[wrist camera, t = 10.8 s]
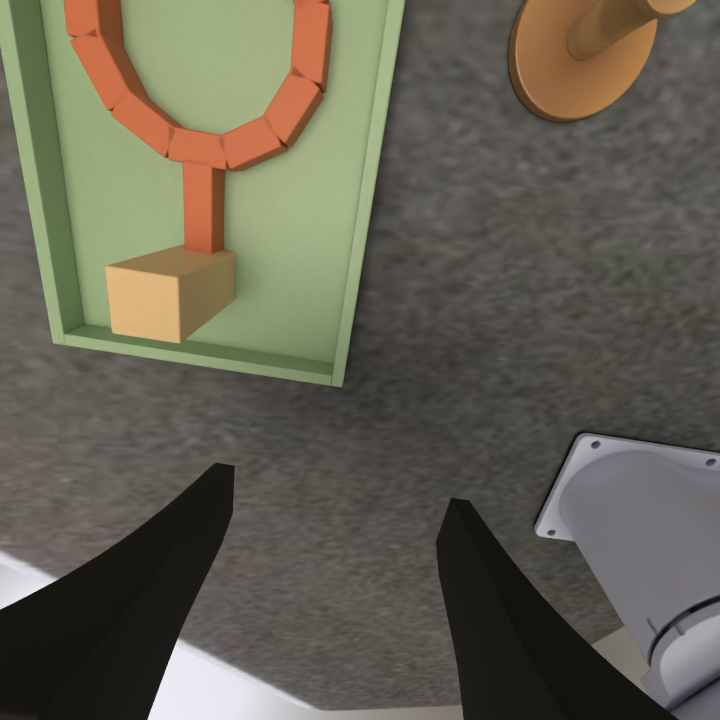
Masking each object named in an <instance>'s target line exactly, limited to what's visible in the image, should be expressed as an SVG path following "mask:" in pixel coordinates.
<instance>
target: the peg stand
mask: <svg viewBox="0 0 720 720" xmlns="http://www.w3.org/2000/svg"><path fill="white" fill-rule="evenodd" d="M695 1H696V0H525V1H524V3H523V5H522V7H521V9H520V11H519V13H518V16H517V18H516V20H515V23H514V27H513V30H512V34H511V39H510V45H509V70H510V76H511V80H512V83H513V86H514V89H515V91H516V93H517V95H518V97H519V98H520V100H521V101H522V103H523V104H524V105H525V106H526V107H527V108H528V109H529V110H530V111H531V112H533V113H534V114H536V115H537V116H539V117H541V118H543V119H546V120H550V121H555V122H569V121H574V120H578V119H581V118H584V117H587V116H590V115H593V114H595V113H597V112H599V111H601V110H603V109H605V108H606V107H608V106H609V105H611V104H612V103H613V102H615V101H616V100H617V99H618V98H619V97H620V96H621V95H622V94H623V93H624V92H625V91H626V90H627V89H628V88H629V87H630V86H631V84H632V83H633V82H634V81H635V79H636V78H637V76H638V75H639V73H640V72H641V70H642V68H643V66H644V64H645V63H646V60H647V58H648V56H649V54H650V51H651V48H652V45H653V42H654V39H655V34H656V30H657V22H658V19H667V18H670V17H673V16H675V15H677V14H678V13H680V12H682V11H683V10H685V9H687V8H688V7H690V6H691V5H692V4H693V3H694V2H695Z"/></svg>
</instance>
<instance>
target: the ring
mask: <svg viewBox="0 0 720 720" xmlns="http://www.w3.org/2000/svg"><path fill="white" fill-rule="evenodd" d="M63 2H64V10H65V18H66V27H67V33H68V35H69V36H71V37H73V38H74V39H72V40H71V41H70V43H71V45H72V47H73V48H74V50H75V52H76V54H77V56H78V58H79V59H80V61H81V63H82V65H83V67H84V69H85V70H86V72H87V74H88V76H89V78H90V80H91V82H92V83H93V85H94V87H95V89H96V91H97V93H98V94H99V96H100V98H101V100H102V102H103V104H104V105H105V107H106V109H107V110H108V111H111V112H112V114H111V116H112V117H114V118H115V119H116V120H117V121H119V122H120V123H121V124H122V125H124V126H125V127H126V128H127V129H129V130H130V131H131V132H132V133H134V134H135V135H136V136H137V137H139V138H140V139H141V140H142V141H144V142H145V143H146V144H147V145H149V146H150V147H151V148H153V149H154V150H155V151H156V152H158V153H159V154H160V155H161V156H163V157H164V158H169V160H171V161H177V162H182V163H183V197H184V239H185V244H183V245H179V246H175V247H172V248H168V249H164V250H161V251H157V252H153V253H150V254H146V255H142V256H139V257H135V258H131V259H128V260H124V261H120V262H117V263H113V264H110V265H106V266H105V272H106V281H107V290H108V299H109V309H110V318H111V327H112V333H115V334H121V335H127V336H134V337H140V338H147V339H153V340H159V341H166V342H172V343H182V342H183V341H184V340H185V339H187V338H188V337H189V336H190V335H192V334H193V333H194V332H195V331H197V330H198V329H199V328H200V327H202V326H203V325H204V324H205V323H207V322H208V321H209V320H210V319H212V318H213V317H214V316H215V315H217V314H218V313H219V312H220V311H222V310H223V309H224V308H225V307H227V306H228V305H229V304H230V303H232V302H233V301H234V300H235V271H236V252H234V251H228V250H223V240H224V179H225V170H228V171H234V172H237V170H238V171H244V170H246V169H248V168H250V167H253V166H255V165H257V164H259V163H261V162H264V161H266V160H268V159H270V158H273V157H275V156H277V155H279V154H282V153H284V152H286V151H288V147H287V145H289V146H290V147H293V145H294V144H295V142H296V140H297V139H298V137H299V136H300V134H301V133H302V131H303V130H304V128H305V127H306V125H307V124H308V122H309V120H310V119H311V117H312V116H313V114H314V113H315V111H316V110H317V108H318V107H319V105H320V104H321V102H322V100H323V99H324V97H323V95H322V93H321V92H323V93H325V92H326V88H327V78H328V69H329V59H330V50H331V40H332V31H333V20H332V10H331V5H330V0H293V2H294V5H295V13H294V27H293V41H292V55H291V69H290V71H289V73H288V75H287V76H286V78H285V80H284V81H283V83H282V85H281V86H280V88H279V90H278V91H277V93H276V95H275V96H274V98H273V100H272V101H271V103H270V105H269V106H268V108H267V110H266V111H265V113H264V115H263V116H261V117H259V118H257V119H255V120H253V121H251V122H248V123H246V124H244V125H242V126H240V127H238V128H236V129H233V130H231V131H229V132H227V133H225V134H223V135H217V134H212V133H206V132H201V131H195V130H190V129H185V128H184V127H183V126H181V125H180V124H179V123H178V122H177V121H175V120H174V119H173V118H172V117H171V116H169V115H168V114H167V113H166V112H164V111H163V110H162V109H161V108H160V107H158V106H157V105H156V104H155V103H154V102H152V101H151V100H150V99H149V97H148V95H147V93H146V91H145V89H144V87H143V85H142V83H141V81H140V79H139V77H138V75H137V73H136V71H135V69H134V67H133V65H132V63H131V61H130V59H129V57H128V56H127V54H126V52H125V50H124V48H123V34H122V20H121V6H120V0H63Z"/></svg>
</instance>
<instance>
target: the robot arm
mask: <svg viewBox="0 0 720 720" xmlns="http://www.w3.org/2000/svg"><path fill="white" fill-rule="evenodd" d="M595 441H596V443H594V444H592V443H593V442H595ZM234 469H235V466H233V465H227V464H220V463H215V464H213V465H212V466H211V467H210V468H209V469H208V470H207V471H206V472H205V473H203V474H202V475H201V476H200V477H199V478H198V479H197V480H196V481H195V482H194V483H193V484H191V485H190V486H189V487H188V488H187V489H186V490H185V491H184V492H182V493H181V494H180V495H179V496H178V497H177V498H175V499H174V500H173V501H172V502H171V503H169V504H168V505H167V506H166V507H165V508H163V509H162V510H161V511H160V512H159V513H157V514H156V515H155V516H153V517H152V518H151V519H149V520H148V521H147V522H146V523H144V524H143V525H142V526H140V527H139V528H138V529H136V530H135V531H134V532H132V533H131V534H130V535H128V536H127V537H125V538H124V539H122V540H121V541H120V542H118V543H117V544H115V545H114V546H112V547H111V548H109V549H108V550H106V551H105V552H103V553H102V554H100V555H98V556H97V557H95V558H94V559H92V560H90V561H89V562H87V563H85V564H84V565H82V566H81V567H79V568H77V569H76V570H74V571H72V572H71V573H69V574H67V575H66V576H64V577H62V578H60V579H59V580H57V581H55V582H53V583H51V584H49V585H47V586H46V587H44V588H42V589H40V590H38V591H36V592H34V593H32V594H30V595H29V596H27V597H25V598H23V599H21V600H19V601H17V602H15V603H13V604H11V605H9V606H7V607H5V608H3V609H1V610H0V720H147V719H148V716H149V713H150V710H151V708H152V705H153V702H154V700H155V697H156V694H157V691H158V689H159V686H160V683H161V680H162V678H163V675H164V673H165V670H166V667H167V665H168V662H169V659H170V657H171V654H172V651H173V649H174V646H175V644H176V641H177V639H178V636H179V633H180V631H181V629H182V626H183V624H184V622H185V620H186V617H187V615H188V613H189V611H190V609H191V607H192V605H193V603H194V600H195V598H196V596H197V594H198V592H199V590H200V588H201V586H202V584H203V582H204V580H205V578H206V576H207V574H208V572H209V569H210V567H211V565H212V563H213V561H214V559H215V557H216V555H217V553H218V551H219V549H220V546H221V544H222V542H223V539H224V536H225V533H226V531H227V528H228V525H229V522H230V519H231V516H232V513H233V493H234ZM534 530H535V532H536V534H537V535H538V536H541V537H548V538H555V539H562V540H569V541H575V543H576V544H577V546H578V548H579V549H580V551H581V553H582V555H583V556H584V558H585V560H586V561H587V563H588V565H589V566H590V568H591V570H592V571H593V573H594V575H595V576H596V578H597V580H598V581H599V583H600V585H601V587H602V588H603V590H604V592H605V593H606V595H607V597H608V598H609V600H610V602H611V603H612V605H613V607H614V608H615V610H616V612H617V613H618V615H619V617H620V619H621V620H622V622H623V624H624V625H625V627H626V629H627V630H628V632H629V634H630V635H631V637H632V639H633V640H634V642H635V644H636V645H637V647H638V649H639V651H640V652H641V654H642V656H643V657H644V659H645V661H646V662H647V664H648V665H649V667H650V669H649V671H648V672H647V673H646V675H644V676H643V677H642V678H641V679H640V682H641V684H642V685H643V687H644V689H645V691H646V693H647V694H648V695H647V694H645V693H644V692H643V691H642V690H640V689H639V688H638V687H637V686H636V685H635V684H633V683H632V682H631V681H630V680H628V679H627V678H626V677H625V676H624V675H623V674H622V673H620V672H619V671H618V670H617V669H616V668H615V667H613V666H612V665H611V664H610V663H609V662H608V661H607V660H606V659H605V658H603V657H602V656H601V655H600V654H599V653H598V652H597V651H596V650H595V649H594V648H593V647H592V646H591V645H589V644H588V643H587V642H586V641H585V640H584V639H583V638H582V637H581V636H580V635H579V634H578V633H577V632H576V631H575V630H574V629H573V628H572V627H571V626H570V625H569V624H568V623H567V622H566V621H565V620H564V619H563V618H562V617H561V616H560V615H559V614H558V613H557V612H556V611H555V610H554V608H553V607H552V606H551V605H550V604H549V603H548V602H547V601H546V600H545V599H544V598H543V597H542V595H541V594H540V593H539V592H538V591H537V590H536V589H535V587H534V586H533V585H532V584H531V583H530V581H529V580H528V579H527V578H526V577H525V575H524V574H523V573H522V572H521V571H520V569H519V568H518V567H517V566H516V564H515V563H514V562H513V561H512V559H511V558H510V557H509V555H508V554H507V553H506V551H505V550H504V549H503V547H502V546H501V545H500V543H499V542H498V541H497V539H496V538H495V537H494V535H493V534H492V532H491V531H490V530H489V528H488V527H487V525H486V524H485V522H484V521H483V520H482V518H481V517H480V515H479V514H478V513H477V511H476V510H475V508H474V507H473V505H472V504H471V503H470V501H468V500H462V499H455V498H451V500H450V503H449V505H448V508H447V511H446V514H445V517H444V520H443V523H442V526H441V529H440V532H439V535H438V538H437V540H436V548H437V561H438V570H439V577H440V582H441V587H442V592H443V597H444V602H445V607H446V611H447V616H448V621H449V626H450V630H451V635H452V640H453V645H454V649H455V655H456V661H457V667H458V675H459V683H460V691H461V700H462V708H463V718H464V720H720V453H716V452H709V451H702V450H696V449H689V448H683V447H676V446H670V445H663V444H657V443H650V442H644V441H637V440H630V439H624V438H617V437H611V436H604V435H598V434H591V433H583V434H580V435H579V436H578V437H577V438H576V440H575V442H574V444H573V446H572V448H571V450H570V453H569V455H568V457H567V459H566V461H565V463H564V465H563V467H562V469H561V471H560V474H559V476H558V478H557V480H556V482H555V484H554V486H553V488H552V490H551V493H550V495H549V497H548V499H547V501H546V503H545V505H544V507H543V509H542V511H541V514H540V516H539V518H538V520H537V522H536V524H535V526H534ZM549 530H550V531H549Z"/></svg>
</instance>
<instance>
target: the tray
mask: <svg viewBox="0 0 720 720" xmlns="http://www.w3.org/2000/svg"><path fill="white" fill-rule="evenodd" d="M405 1H406V0H330V5H331V10H332V20H333V31H332V40H331V50H330V59H329V69H328V78H327V88H326V92H325V93H323V92H321V93H322V95H323V97H324V99H323V100H322V102H321V104H320V105H319V107H318V108H317V110H316V111H315V113H314V114H313V116H312V117H311V119H310V120H309V122H308V124H307V125H306V127H305V128H304V130H303V131H302V133H301V134H300V136H299V137H298V139H297V140H296V142H295V144H294V145H293V147H290V146H289V145H287V147H288V151H286V152H284V153H282V154H279V155H277V156H275V157H273V158H270V159H268V160H266V161H264V162H261V163H259V164H257V165H255V166H253V167H250V168H248V169H246V170H244V171H238V170H237V172H234V171H228V170H225V179H224V240H223V250H228V251H234V252H236V271H235V300H234V301H233V302H232V303H230V304H229V305H228V306H227V307H225V308H224V309H223V310H222V311H220V312H219V313H218V314H217V315H215V316H214V317H213V318H212V319H210V320H209V321H208V322H207V323H205V324H204V325H203V326H202V327H200V328H199V329H198V330H197V331H195V332H194V333H193V334H192V335H190V336H189V337H188V338H187V339H185V340H184V341H183V342H182V343H172V342H166V341H159V340H153V339H147V338H140V337H134V336H127V335H121V334H115V333H112V327H111V318H110V309H109V299H108V290H107V281H106V272H105V266H106V265H110V264H113V263H117V262H120V261H124V260H128V259H131V258H135V257H139V256H142V255H146V254H150V253H153V252H157V251H161V250H164V249H168V248H172V247H175V246H179V245H183V244H185V239H184V197H183V163H182V162H177V161H171V160H169V158H164V157H163V156H161V155H160V154H159V153H158V152H156V151H155V150H154V149H153V148H151V147H150V146H149V145H147V144H146V143H145V142H144V141H142V140H141V139H140V138H139V137H137V136H136V135H135V134H134V133H132V132H131V131H130V130H129V129H127V128H126V127H125V126H124V125H122V124H121V123H120V122H119V121H117V120H116V119H115V118H114V117H112V116H111V114H112V112H111V111H108V110H107V109H106V107H105V105H104V104H103V102H102V100H101V98H100V96H99V94H98V93H97V91H96V89H95V87H94V85H93V83H92V82H91V80H90V78H89V76H88V74H87V72H86V70H85V69H84V67H83V65H82V63H81V61H80V59H79V58H78V56H77V54H76V52H75V50H74V48H73V47H72V45H71V43H70V41H71V40H72V39H74V38H73V37H71V36H69V35H68V33H67V27H66V18H65V10H64V2H63V0H0V47H1V52H2V58H3V64H4V69H5V75H6V81H7V86H8V92H9V98H10V103H11V109H12V114H13V120H14V126H15V131H16V137H17V143H18V148H19V154H20V160H21V165H22V171H23V177H24V182H25V188H26V193H27V199H28V205H29V210H30V216H31V222H32V227H33V233H34V239H35V244H36V250H37V256H38V261H39V267H40V272H41V278H42V284H43V289H44V295H45V301H46V306H47V312H48V318H49V323H50V329H51V335H52V340H53V343H55V344H62V345H68V346H75V347H81V348H88V349H94V350H101V351H107V352H114V353H120V354H127V355H133V356H140V357H146V358H153V359H159V360H166V361H172V362H179V363H185V364H192V365H198V366H205V367H211V368H218V369H224V370H231V371H237V372H244V373H250V374H257V375H263V376H270V377H276V378H283V379H289V380H296V381H302V382H309V383H315V384H322V385H328V386H330V385H331V386H336V387H342V386H343V381H344V375H345V368H346V362H347V356H348V350H349V344H350V338H351V332H352V325H353V319H354V313H355V307H356V301H357V295H358V289H359V283H360V276H361V270H362V264H363V258H364V252H365V246H366V240H367V234H368V227H369V221H370V215H371V209H372V203H373V197H374V191H375V184H376V178H377V172H378V166H379V160H380V154H381V148H382V142H383V135H384V129H385V123H386V117H387V111H388V105H389V99H390V92H391V86H392V80H393V74H394V68H395V62H396V56H397V50H398V43H399V37H400V31H401V25H402V19H403V13H404V7H405ZM120 6H121V20H122V34H123V48H124V50H125V52H126V54H127V56H128V57H129V59H130V61H131V63H132V65H133V67H134V69H135V71H136V73H137V75H138V77H139V79H140V81H141V83H142V85H143V87H144V89H145V91H146V93H147V95H148V97H149V99H150V100H151V101H152V102H154V103H155V104H156V105H157V106H158V107H160V108H161V109H162V110H163V111H164V112H166V113H167V114H168V115H169V116H171V117H172V118H173V119H174V120H175V121H177V122H178V123H179V124H180V125H181V126H183V127H184V128H185V129H190V130H195V131H201V132H206V133H212V134H217V135H223V134H225V133H227V132H229V131H231V130H233V129H236V128H238V127H240V126H242V125H244V124H246V123H248V122H251V121H253V120H255V119H257V118H259V117H261V116H263V115H264V113H265V111H266V110H267V108H268V106H269V105H270V103H271V101H272V100H273V98H274V96H275V95H276V93H277V91H278V90H279V88H280V86H281V85H282V83H283V81H284V80H285V78H286V76H287V75H288V73H289V71H290V69H291V55H292V41H293V27H294V13H295V5H294V2H293V0H120Z"/></svg>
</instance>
